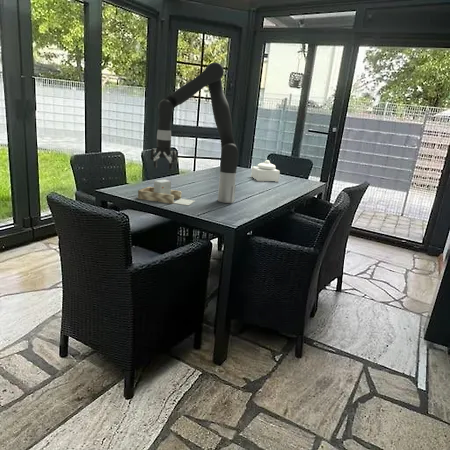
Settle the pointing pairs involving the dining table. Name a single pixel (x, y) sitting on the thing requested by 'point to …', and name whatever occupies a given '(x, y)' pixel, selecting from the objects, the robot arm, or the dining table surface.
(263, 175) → the butter dish
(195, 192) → the dining table surface
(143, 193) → the beige piece
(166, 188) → the small box
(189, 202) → the mat
